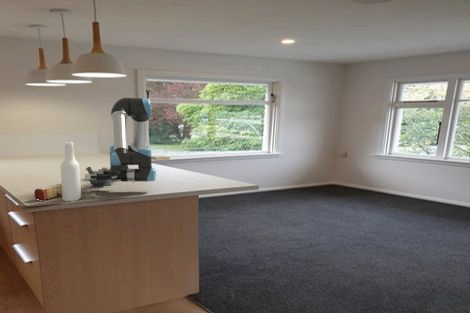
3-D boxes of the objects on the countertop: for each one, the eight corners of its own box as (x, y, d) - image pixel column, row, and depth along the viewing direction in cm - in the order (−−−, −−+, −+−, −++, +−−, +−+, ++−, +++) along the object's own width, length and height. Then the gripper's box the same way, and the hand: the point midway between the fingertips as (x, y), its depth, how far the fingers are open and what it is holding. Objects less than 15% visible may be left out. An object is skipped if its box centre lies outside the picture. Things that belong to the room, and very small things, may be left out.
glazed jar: (97, 185, 210) (96, 167, 209) (108, 183, 215) (107, 166, 213) (101, 187, 205) (101, 169, 204) (112, 185, 210) (112, 168, 208)
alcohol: (83, 197, 180) (80, 141, 176) (78, 201, 171) (75, 143, 168) (65, 197, 178) (62, 141, 175) (60, 202, 170) (56, 143, 166)
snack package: (66, 192, 192) (66, 180, 192) (75, 193, 190) (75, 181, 190) (34, 200, 172) (33, 188, 172) (43, 202, 170) (43, 189, 170)
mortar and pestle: (109, 185, 198) (108, 165, 197) (104, 188, 189) (103, 167, 188) (89, 185, 197) (88, 165, 196) (84, 189, 188) (83, 168, 186)
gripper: (123, 185, 183) (81, 185, 182) (133, 177, 205) (95, 177, 204) (122, 172, 182) (80, 172, 181) (132, 165, 204) (95, 165, 202)
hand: (88, 175), depth 192 cm, fingers closed on mortar and pestle, 9 cm apart
